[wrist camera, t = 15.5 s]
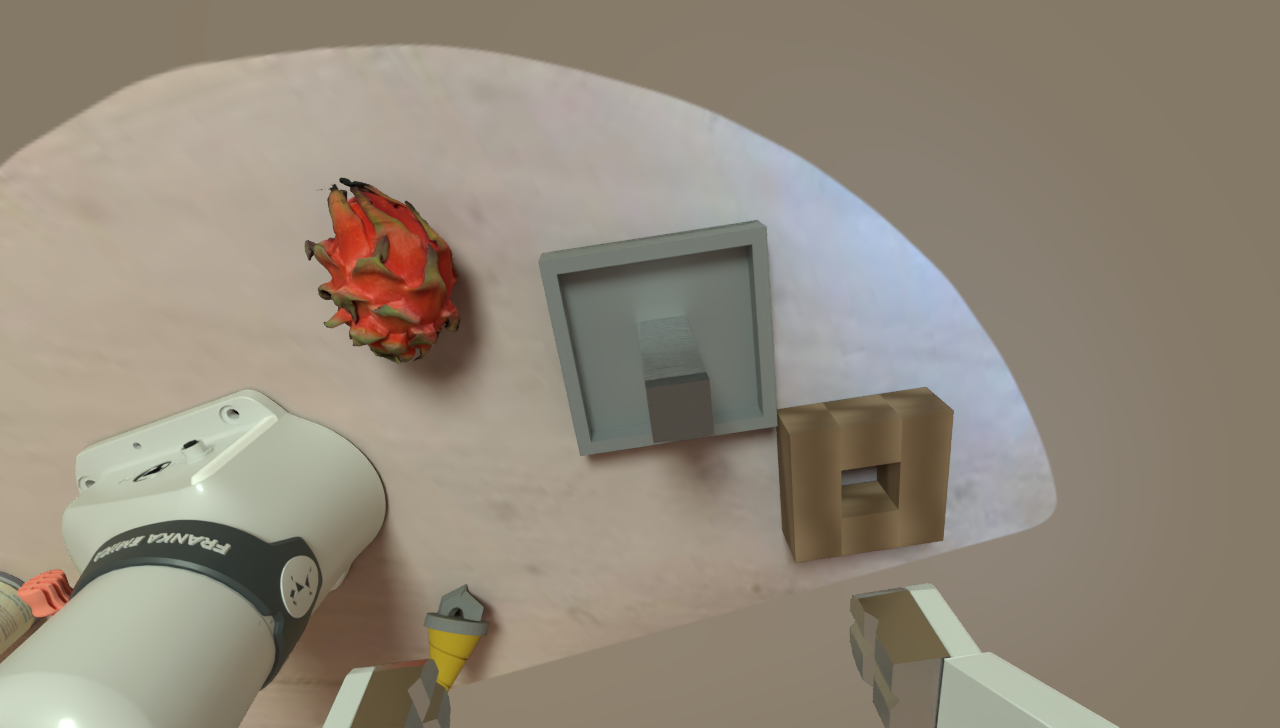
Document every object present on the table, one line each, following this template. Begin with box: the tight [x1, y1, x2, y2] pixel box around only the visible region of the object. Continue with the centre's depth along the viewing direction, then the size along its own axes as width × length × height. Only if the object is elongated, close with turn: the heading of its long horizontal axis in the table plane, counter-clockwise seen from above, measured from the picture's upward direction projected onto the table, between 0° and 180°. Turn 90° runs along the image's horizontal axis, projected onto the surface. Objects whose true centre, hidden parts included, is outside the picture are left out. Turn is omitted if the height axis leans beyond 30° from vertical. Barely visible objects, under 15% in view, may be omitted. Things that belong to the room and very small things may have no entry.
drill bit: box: [424, 584, 489, 693], centre depth 50 cm, size 5×5×10 cm
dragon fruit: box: [305, 178, 460, 364], centre depth 37 cm, size 8×8×12 cm
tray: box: [539, 220, 778, 456], centre depth 42 cm, size 15×15×2 cm
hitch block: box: [776, 387, 954, 562], centre depth 47 cm, size 12×12×4 cm
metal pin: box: [637, 315, 715, 443], centre depth 38 cm, size 4×4×11 cm
